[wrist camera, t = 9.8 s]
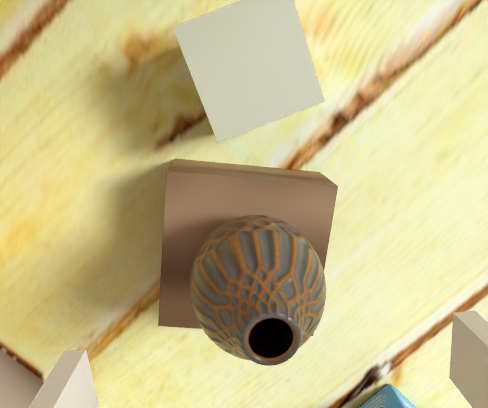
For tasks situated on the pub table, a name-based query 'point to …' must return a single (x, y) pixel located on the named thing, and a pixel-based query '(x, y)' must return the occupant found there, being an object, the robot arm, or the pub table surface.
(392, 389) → the ink box
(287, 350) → the vase
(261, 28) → the sage cube
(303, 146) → the pub table surface
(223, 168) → the plinth
